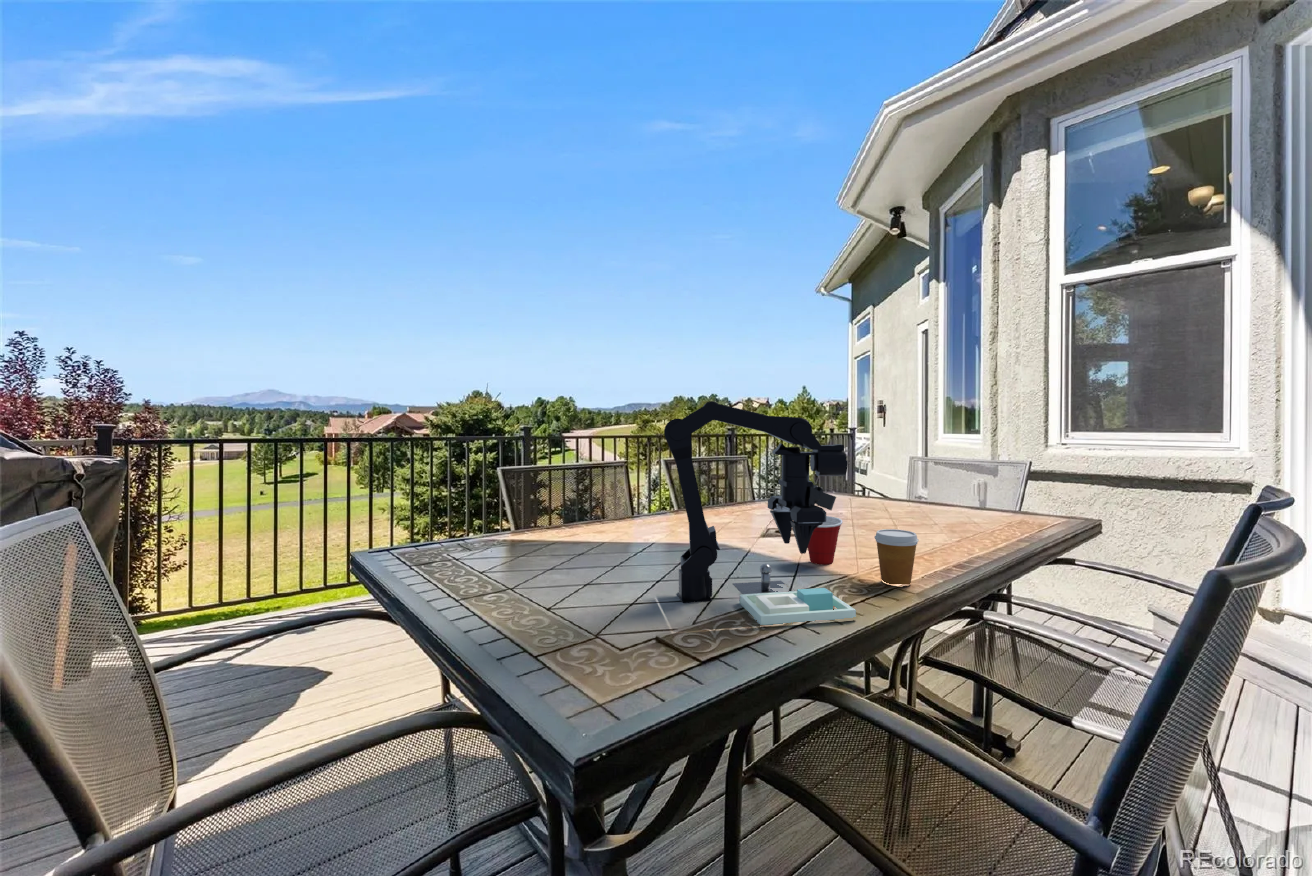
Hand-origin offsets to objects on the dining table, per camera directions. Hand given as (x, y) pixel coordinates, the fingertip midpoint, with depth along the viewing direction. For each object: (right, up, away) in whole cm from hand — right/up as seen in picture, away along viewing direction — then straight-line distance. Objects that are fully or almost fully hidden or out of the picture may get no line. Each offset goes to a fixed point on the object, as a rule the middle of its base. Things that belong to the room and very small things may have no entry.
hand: (794, 548), depth 119 cm
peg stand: (-5, -11, +6) cm, 13 cm away
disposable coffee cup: (+27, -11, +11) cm, 31 cm away
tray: (-2, -11, -8) cm, 14 cm away
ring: (-2, -11, -8) cm, 13 cm away
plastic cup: (+15, -10, +29) cm, 34 cm away
